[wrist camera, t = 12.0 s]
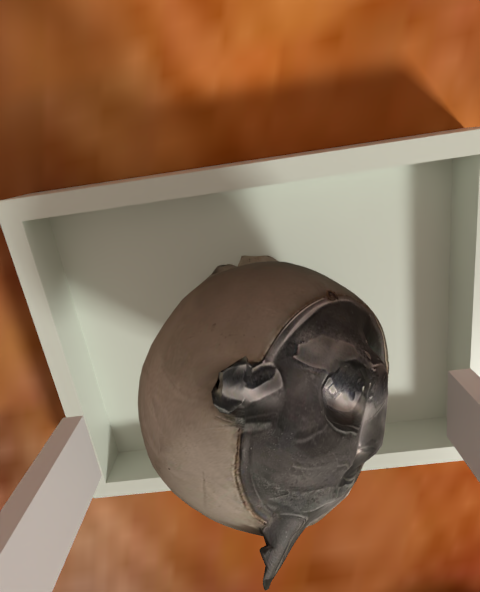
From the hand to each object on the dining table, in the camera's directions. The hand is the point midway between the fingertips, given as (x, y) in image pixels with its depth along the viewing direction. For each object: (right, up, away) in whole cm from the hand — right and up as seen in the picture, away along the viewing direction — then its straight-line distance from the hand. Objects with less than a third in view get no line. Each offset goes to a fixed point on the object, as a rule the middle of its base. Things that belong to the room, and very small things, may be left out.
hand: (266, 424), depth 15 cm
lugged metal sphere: (0, +3, +8) cm, 9 cm away
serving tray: (0, +4, +9) cm, 10 cm away
